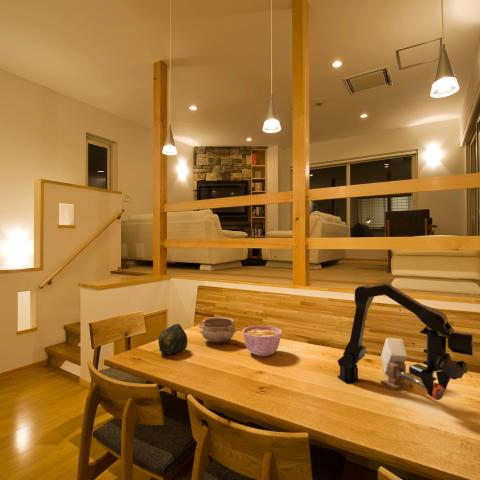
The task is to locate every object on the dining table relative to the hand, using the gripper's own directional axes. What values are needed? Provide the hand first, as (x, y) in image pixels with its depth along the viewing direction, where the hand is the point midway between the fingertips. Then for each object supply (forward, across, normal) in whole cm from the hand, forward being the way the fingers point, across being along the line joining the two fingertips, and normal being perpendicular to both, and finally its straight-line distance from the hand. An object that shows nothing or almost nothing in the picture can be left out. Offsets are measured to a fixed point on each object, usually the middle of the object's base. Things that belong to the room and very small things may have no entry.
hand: (436, 393), depth 104 cm
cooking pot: (+5, -55, +89) cm, 105 cm away
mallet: (+2, 0, +7) cm, 7 cm away
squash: (+5, -81, +81) cm, 115 cm away
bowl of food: (+5, -38, +65) cm, 75 cm away
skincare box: (+2, +8, +28) cm, 29 cm away
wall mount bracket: (+5, 0, +17) cm, 18 cm away
